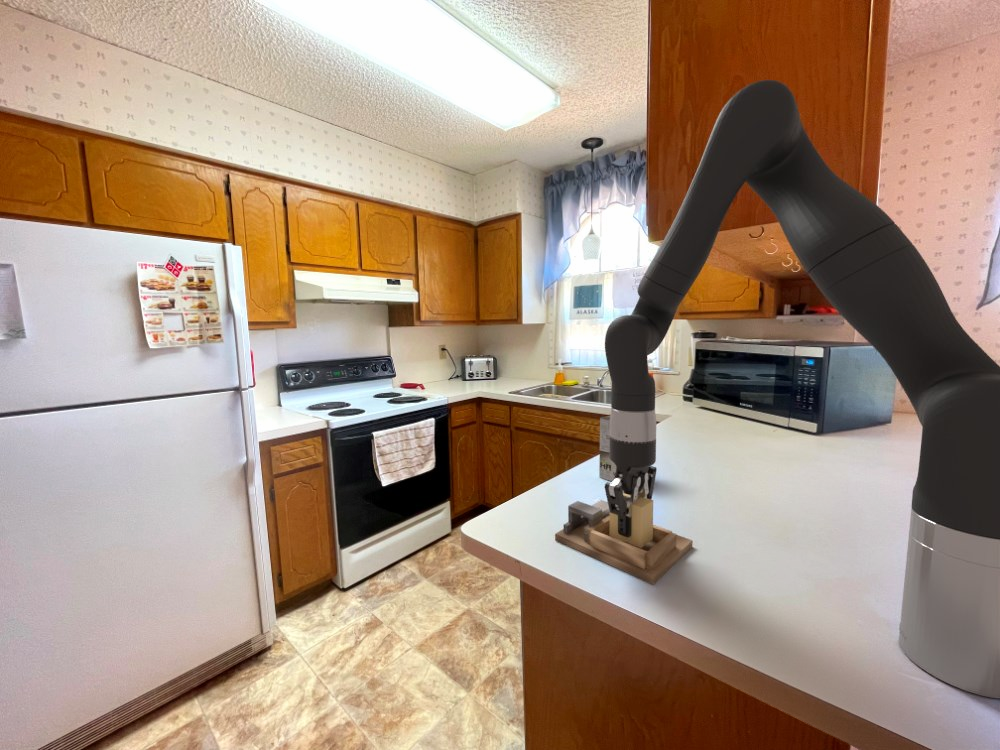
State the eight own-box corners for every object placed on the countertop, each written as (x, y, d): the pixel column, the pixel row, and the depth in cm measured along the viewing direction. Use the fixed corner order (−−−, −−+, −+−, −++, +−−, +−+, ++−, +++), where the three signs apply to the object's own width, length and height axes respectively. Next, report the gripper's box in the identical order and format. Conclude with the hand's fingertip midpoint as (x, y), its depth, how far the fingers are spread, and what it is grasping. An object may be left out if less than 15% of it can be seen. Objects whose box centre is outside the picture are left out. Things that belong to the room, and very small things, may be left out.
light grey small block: (614, 518, 80) (614, 504, 80) (600, 527, 77) (600, 512, 77) (601, 514, 82) (601, 500, 82) (587, 522, 79) (587, 507, 79)
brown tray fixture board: (692, 546, 72) (693, 515, 71) (653, 584, 62) (654, 547, 61) (599, 513, 86) (599, 486, 85) (555, 539, 76) (554, 509, 75)
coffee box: (618, 484, 101) (619, 421, 100) (598, 477, 106) (598, 417, 105) (640, 476, 107) (641, 416, 105) (620, 469, 112) (621, 412, 110)
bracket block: (652, 539, 70) (653, 500, 69) (641, 548, 67) (642, 507, 66) (621, 527, 74) (621, 490, 73) (609, 535, 71) (609, 497, 71)
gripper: (632, 447, 61) (630, 555, 63) (672, 430, 71) (670, 523, 73) (589, 438, 66) (589, 538, 68) (632, 423, 76) (631, 510, 78)
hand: (631, 530), depth 71 cm, fingers closed on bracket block, 4 cm apart
